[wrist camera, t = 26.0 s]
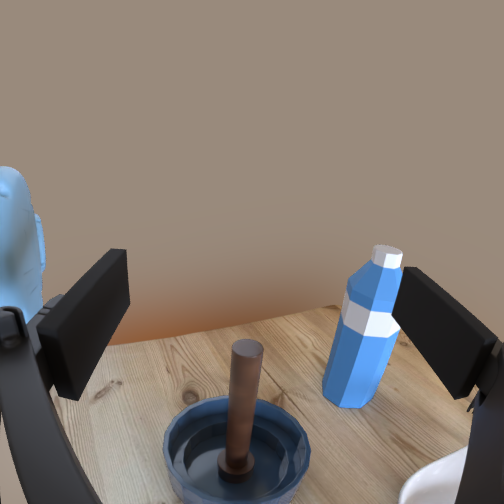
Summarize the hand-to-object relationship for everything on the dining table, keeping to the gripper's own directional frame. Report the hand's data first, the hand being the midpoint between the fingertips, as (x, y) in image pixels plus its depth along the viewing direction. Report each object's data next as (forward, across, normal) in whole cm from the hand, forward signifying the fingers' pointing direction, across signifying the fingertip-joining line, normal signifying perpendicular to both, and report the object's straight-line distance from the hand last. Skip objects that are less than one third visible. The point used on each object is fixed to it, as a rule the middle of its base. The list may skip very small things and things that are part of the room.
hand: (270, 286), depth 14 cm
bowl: (+9, 0, -30) cm, 32 cm away
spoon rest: (0, +29, -31) cm, 42 cm away
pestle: (+9, 0, -30) cm, 31 cm away
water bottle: (+24, +19, -30) cm, 43 cm away
